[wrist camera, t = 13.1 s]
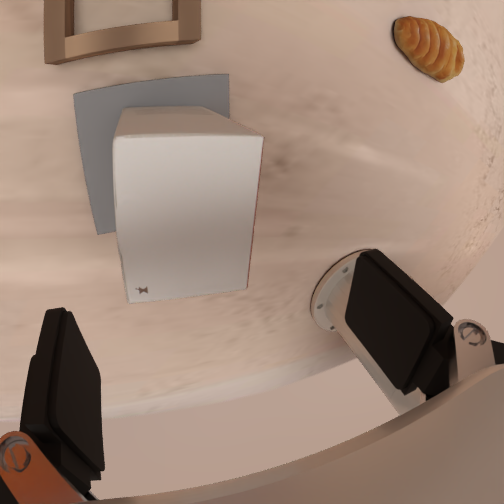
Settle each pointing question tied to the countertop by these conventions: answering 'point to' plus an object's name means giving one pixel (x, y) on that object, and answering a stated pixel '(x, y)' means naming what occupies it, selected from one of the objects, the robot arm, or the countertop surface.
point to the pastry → (429, 47)
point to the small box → (184, 201)
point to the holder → (115, 32)
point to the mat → (107, 117)
